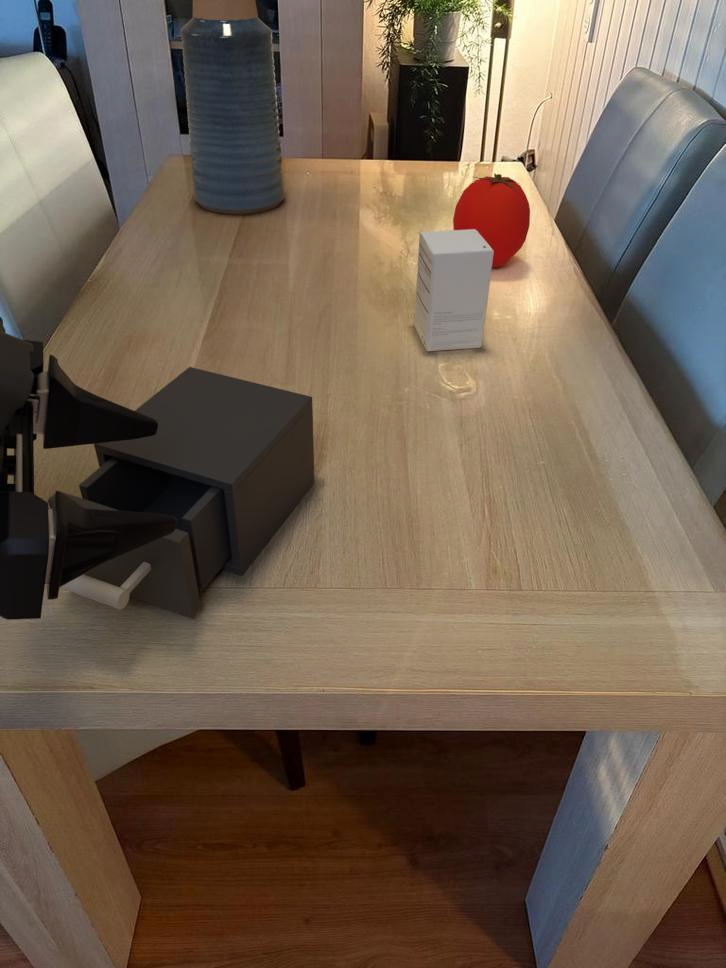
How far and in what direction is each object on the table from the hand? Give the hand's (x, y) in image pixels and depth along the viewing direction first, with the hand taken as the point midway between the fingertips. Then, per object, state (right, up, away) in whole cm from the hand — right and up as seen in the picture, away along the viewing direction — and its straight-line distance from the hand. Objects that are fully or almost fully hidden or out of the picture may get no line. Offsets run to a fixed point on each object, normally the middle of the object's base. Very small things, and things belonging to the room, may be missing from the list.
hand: (165, 473), depth 48 cm
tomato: (+32, +33, +67) cm, 81 cm away
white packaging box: (+23, +18, +47) cm, 56 cm away
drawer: (-4, -7, +13) cm, 15 cm away
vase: (-10, +51, +88) cm, 102 cm away
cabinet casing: (0, -3, +20) cm, 20 cm away
